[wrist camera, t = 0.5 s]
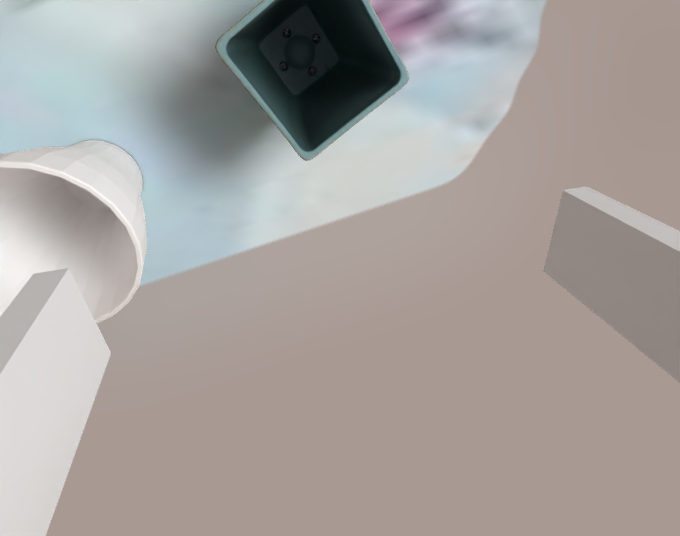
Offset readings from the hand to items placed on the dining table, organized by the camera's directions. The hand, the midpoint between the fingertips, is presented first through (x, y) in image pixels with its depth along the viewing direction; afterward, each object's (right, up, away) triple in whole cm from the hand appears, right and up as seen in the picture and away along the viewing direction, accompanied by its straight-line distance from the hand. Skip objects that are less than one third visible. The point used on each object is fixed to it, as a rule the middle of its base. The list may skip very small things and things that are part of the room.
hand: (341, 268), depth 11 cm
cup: (-20, +8, +22) cm, 31 cm away
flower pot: (-3, +17, +21) cm, 27 cm away
